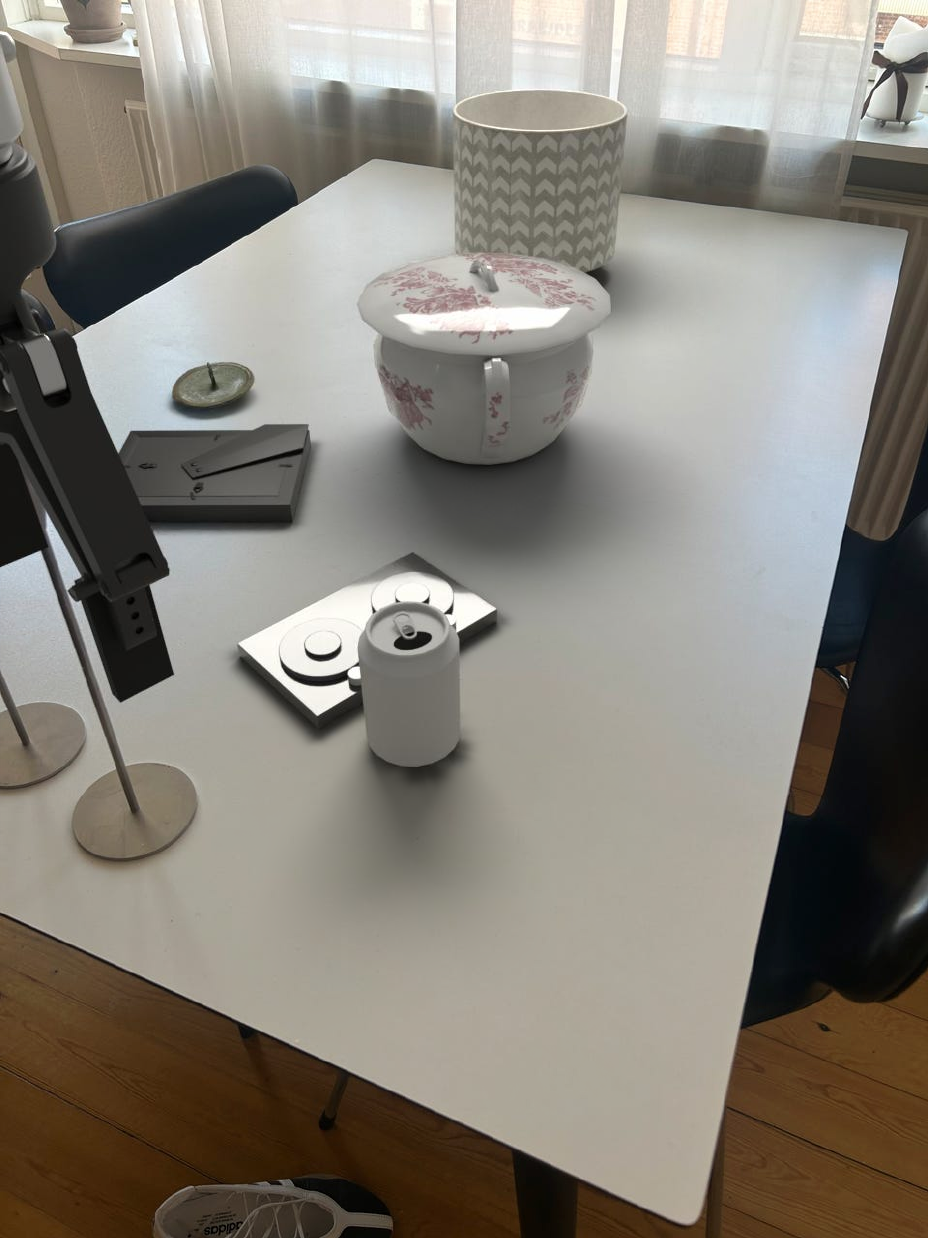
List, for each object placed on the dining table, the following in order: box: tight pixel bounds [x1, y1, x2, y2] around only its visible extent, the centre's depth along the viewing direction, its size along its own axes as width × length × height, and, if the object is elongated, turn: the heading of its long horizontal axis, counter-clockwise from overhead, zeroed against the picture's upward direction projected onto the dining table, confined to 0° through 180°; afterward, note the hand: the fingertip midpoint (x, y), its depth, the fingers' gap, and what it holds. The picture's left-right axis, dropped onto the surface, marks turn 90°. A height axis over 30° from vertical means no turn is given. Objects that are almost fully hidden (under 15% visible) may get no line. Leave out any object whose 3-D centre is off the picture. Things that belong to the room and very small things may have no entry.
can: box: [357, 601, 461, 768], centre depth 74 cm, size 8×8×12 cm
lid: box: [171, 361, 255, 409], centre depth 122 cm, size 11×10×5 cm
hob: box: [236, 551, 498, 730], centre depth 86 cm, size 12×20×2 cm, turn 132°
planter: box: [452, 88, 628, 273], centre depth 146 cm, size 25×25×24 cm
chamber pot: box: [356, 253, 612, 466], centre depth 108 cm, size 28×28×21 cm
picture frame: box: [118, 423, 312, 523], centre depth 106 cm, size 16×3×21 cm
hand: (78, 614), depth 48 cm, fingers open, 13 cm apart
